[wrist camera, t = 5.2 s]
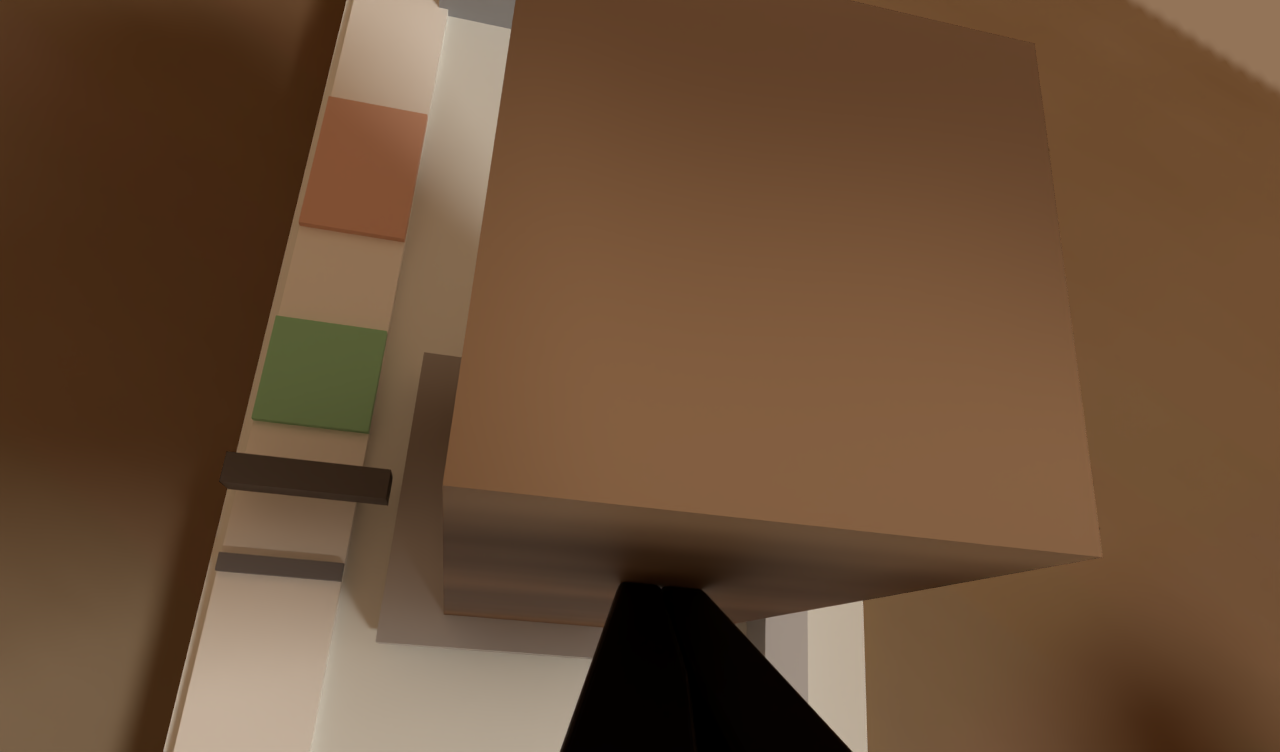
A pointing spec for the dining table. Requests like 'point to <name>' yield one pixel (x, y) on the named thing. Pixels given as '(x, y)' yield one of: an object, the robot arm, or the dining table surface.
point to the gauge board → (394, 435)
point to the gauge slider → (739, 330)
